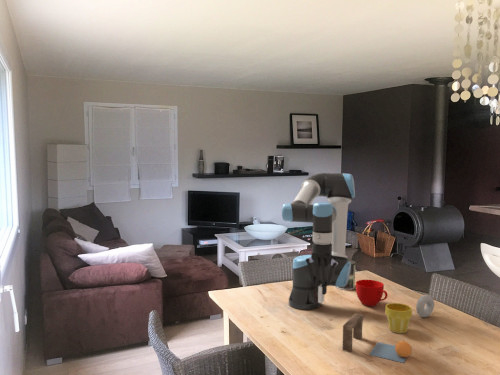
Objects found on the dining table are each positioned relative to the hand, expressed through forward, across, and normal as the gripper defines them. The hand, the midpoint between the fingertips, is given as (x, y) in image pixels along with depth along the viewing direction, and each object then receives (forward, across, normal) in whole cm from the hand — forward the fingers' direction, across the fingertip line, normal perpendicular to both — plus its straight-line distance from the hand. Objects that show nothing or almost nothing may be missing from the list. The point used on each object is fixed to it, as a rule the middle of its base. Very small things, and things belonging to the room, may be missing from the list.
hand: (321, 301), depth 172 cm
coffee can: (+14, -12, +66) cm, 69 cm away
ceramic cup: (+14, +8, +46) cm, 49 cm away
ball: (+11, +32, -1) cm, 34 cm away
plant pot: (+14, +25, +22) cm, 36 cm away
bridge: (+14, +13, 0) cm, 19 cm away
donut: (+14, +32, +43) cm, 55 cm away
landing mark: (+14, +27, 0) cm, 30 cm away
